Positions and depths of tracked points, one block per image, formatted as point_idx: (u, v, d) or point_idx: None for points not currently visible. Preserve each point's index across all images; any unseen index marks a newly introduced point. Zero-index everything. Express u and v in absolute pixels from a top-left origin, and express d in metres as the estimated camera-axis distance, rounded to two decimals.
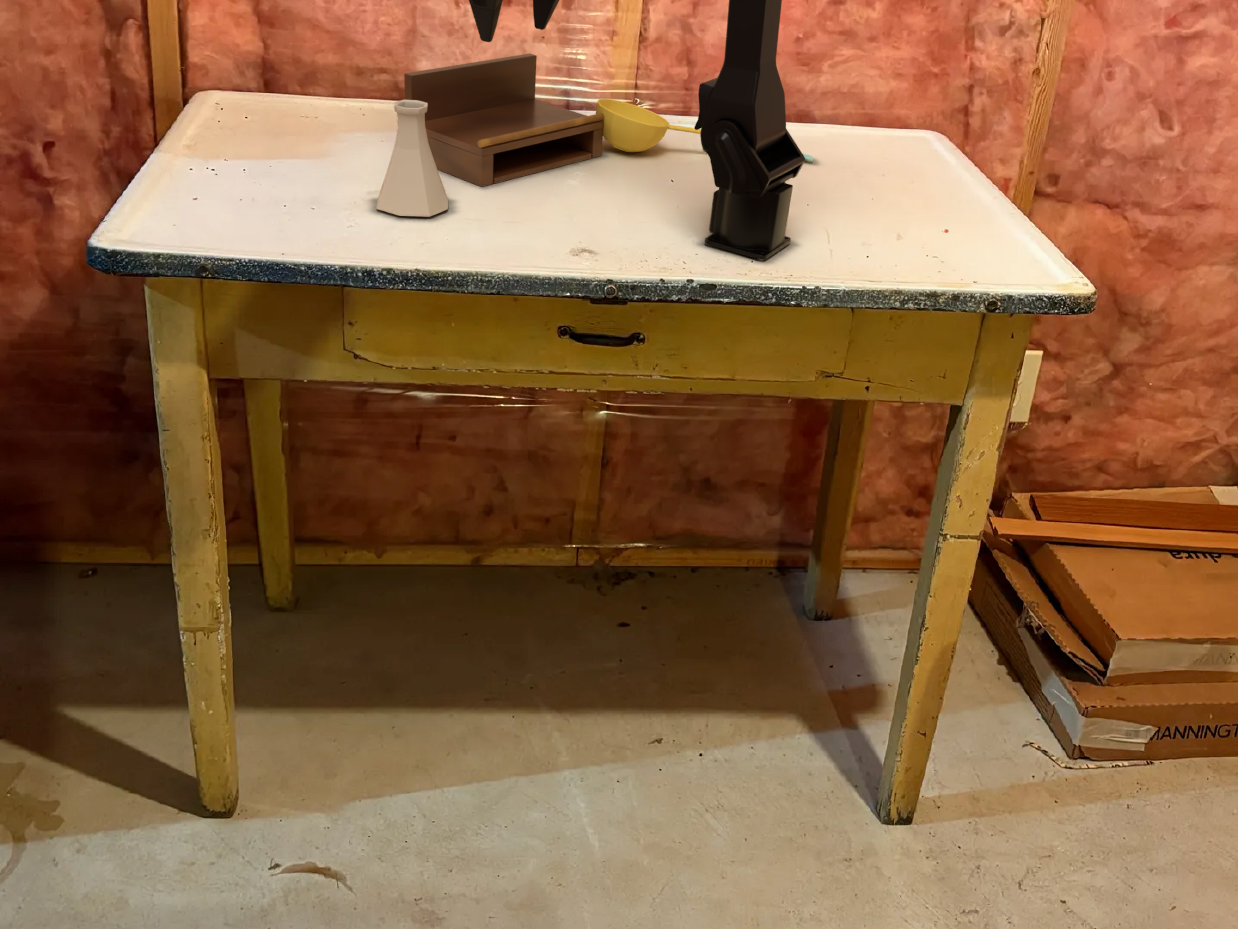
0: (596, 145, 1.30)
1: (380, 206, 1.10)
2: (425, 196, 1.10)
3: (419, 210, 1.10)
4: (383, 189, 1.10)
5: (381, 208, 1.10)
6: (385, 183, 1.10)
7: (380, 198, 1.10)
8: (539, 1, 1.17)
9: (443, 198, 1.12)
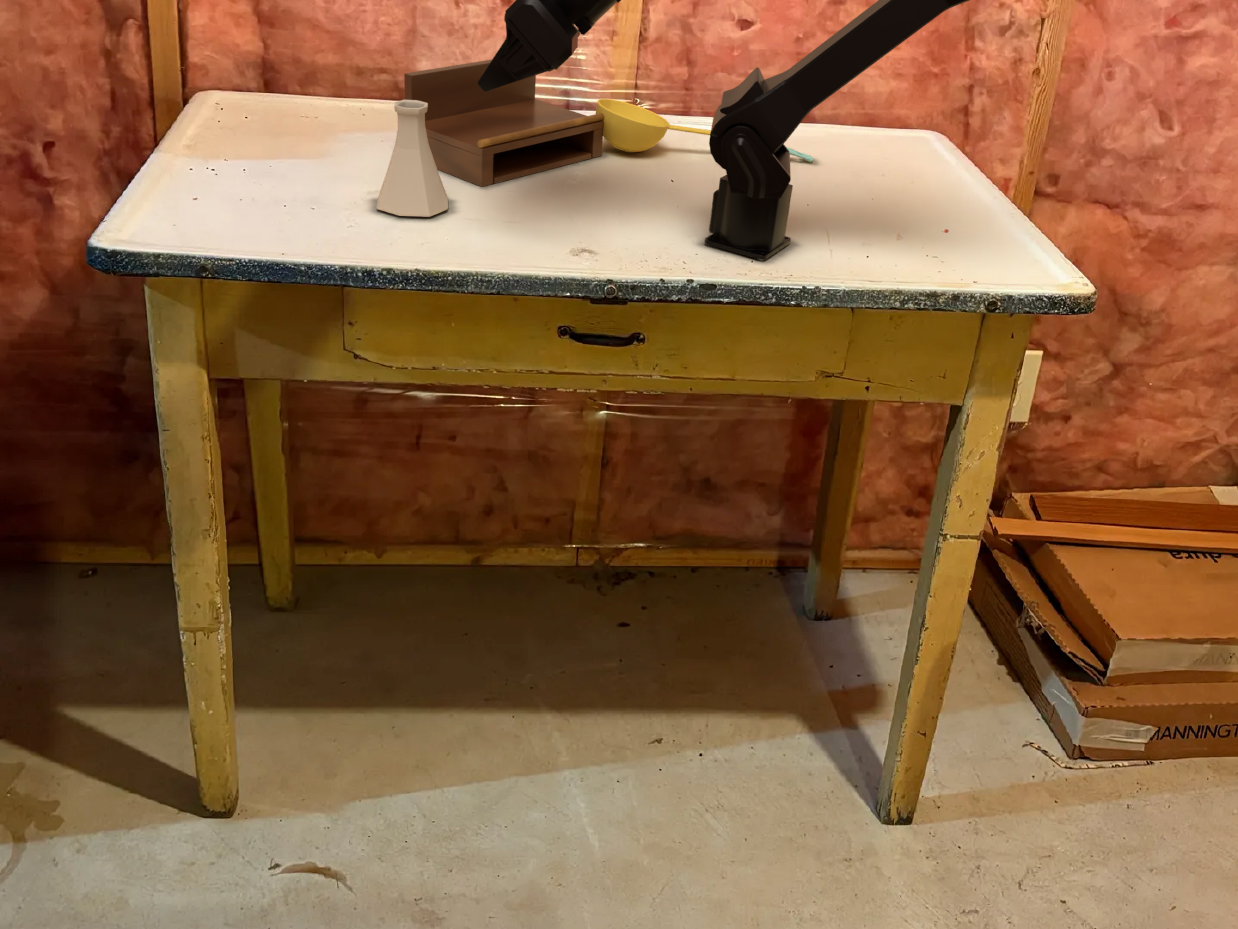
0: (596, 145, 1.30)
1: (380, 206, 1.10)
2: (425, 196, 1.10)
3: (419, 210, 1.10)
4: (383, 189, 1.10)
5: (381, 208, 1.10)
6: (385, 183, 1.10)
7: (380, 198, 1.10)
8: None
9: (443, 198, 1.12)
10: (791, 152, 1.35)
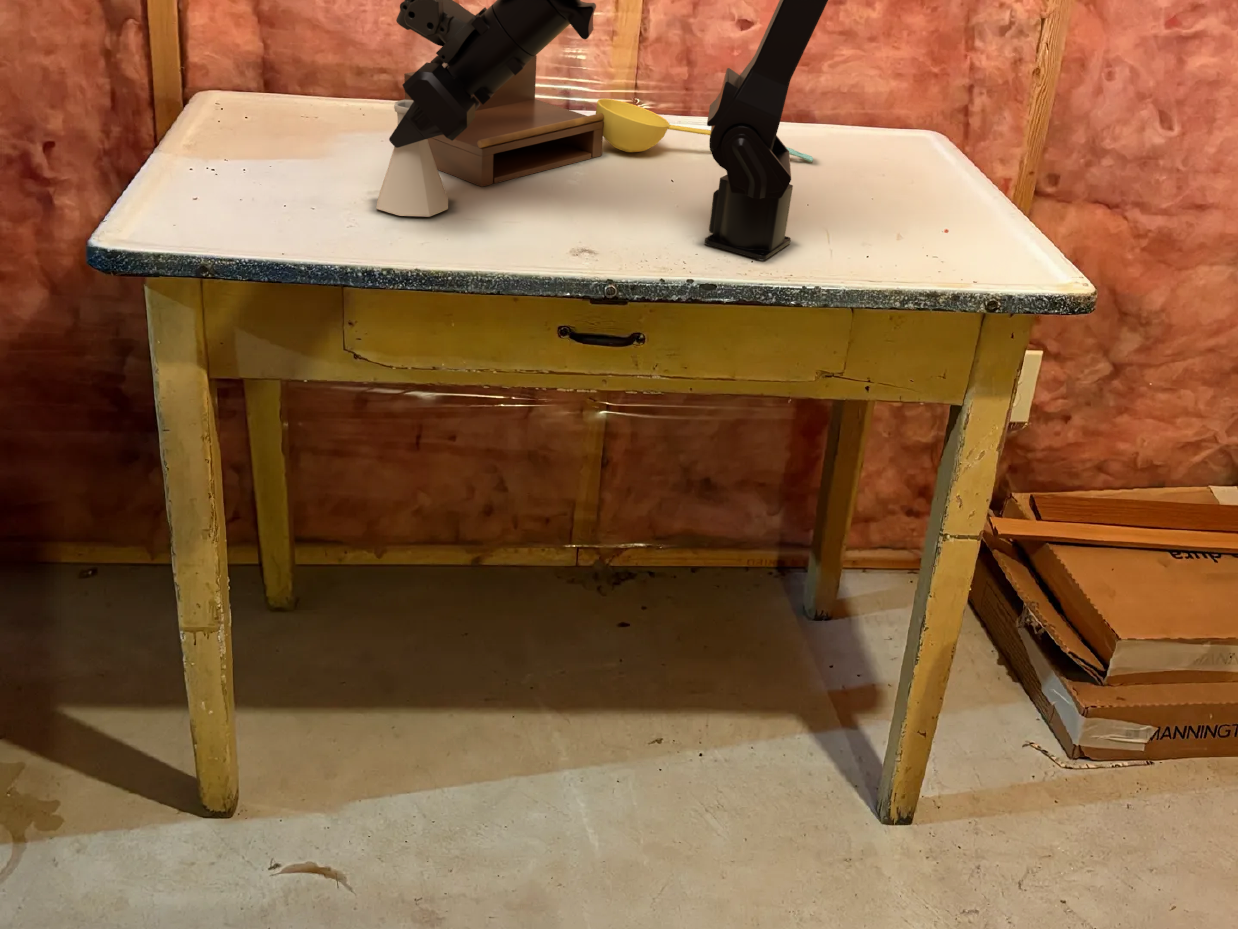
0: (596, 145, 1.30)
1: (380, 206, 1.10)
2: (425, 196, 1.10)
3: (419, 210, 1.10)
4: (383, 189, 1.10)
5: (381, 208, 1.10)
6: (385, 183, 1.10)
7: (380, 198, 1.10)
8: None
9: (443, 198, 1.12)
10: (791, 152, 1.35)
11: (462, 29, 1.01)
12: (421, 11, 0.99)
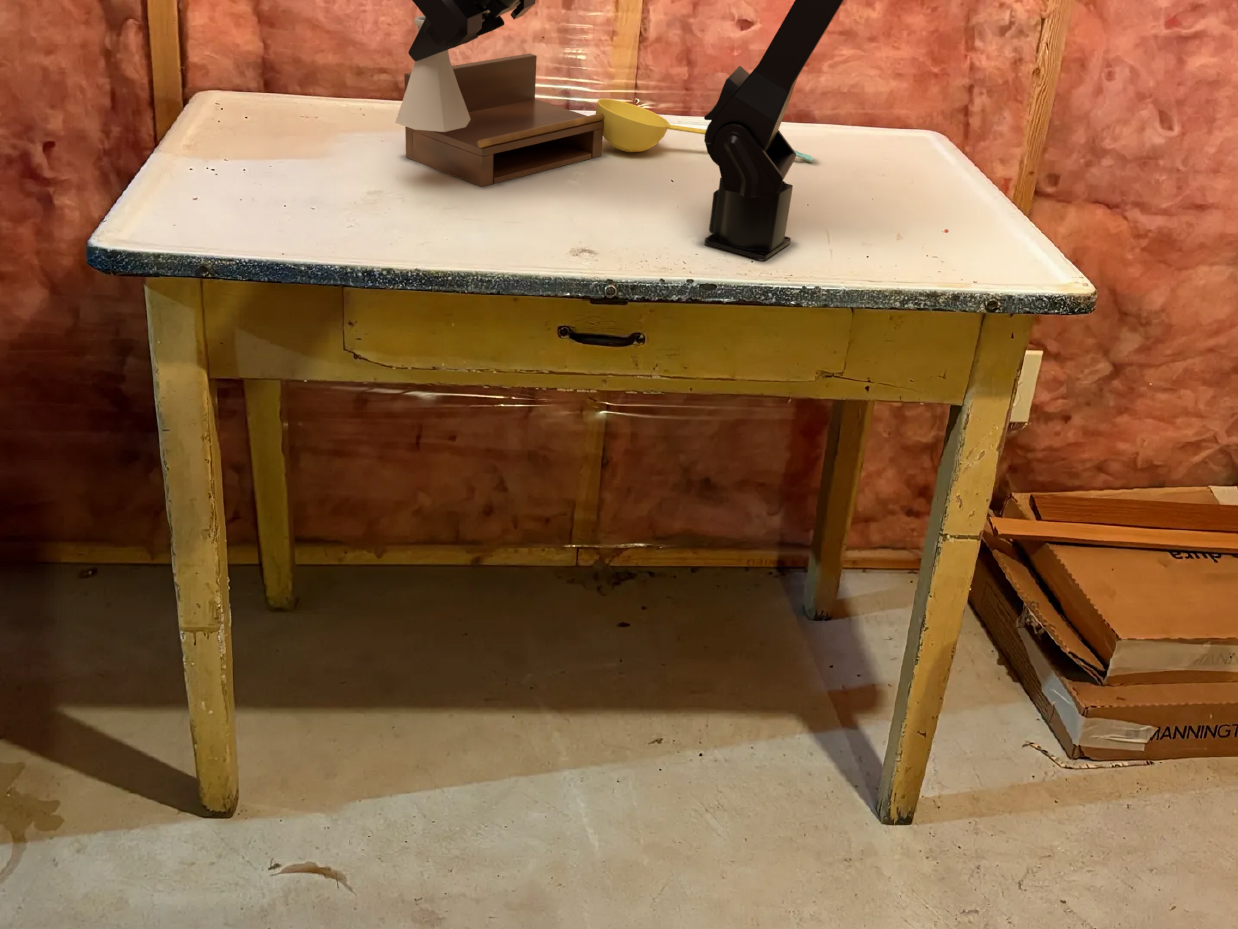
0: (596, 145, 1.30)
1: (399, 120, 1.12)
2: (440, 111, 1.11)
3: (434, 125, 1.11)
4: (402, 103, 1.12)
5: (399, 122, 1.12)
6: (404, 97, 1.11)
7: (399, 112, 1.12)
8: None
9: (461, 115, 1.12)
10: None
11: None
12: None
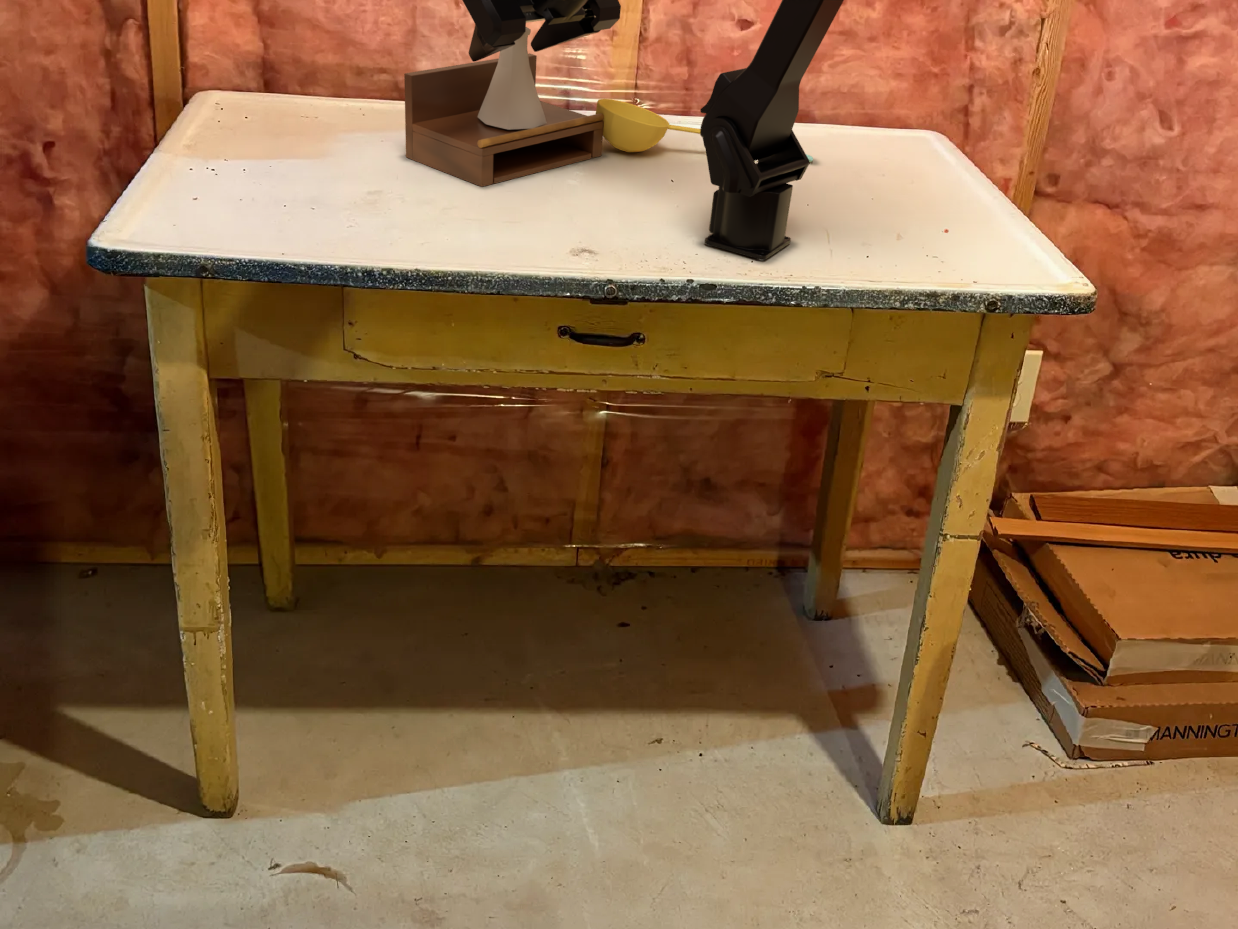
0: (596, 145, 1.30)
1: (479, 115, 1.26)
2: (508, 110, 1.23)
3: (501, 122, 1.23)
4: (484, 100, 1.25)
5: (479, 117, 1.26)
6: (486, 95, 1.25)
7: (481, 108, 1.25)
8: (545, 32, 1.24)
9: (530, 117, 1.24)
10: None
11: None
12: None
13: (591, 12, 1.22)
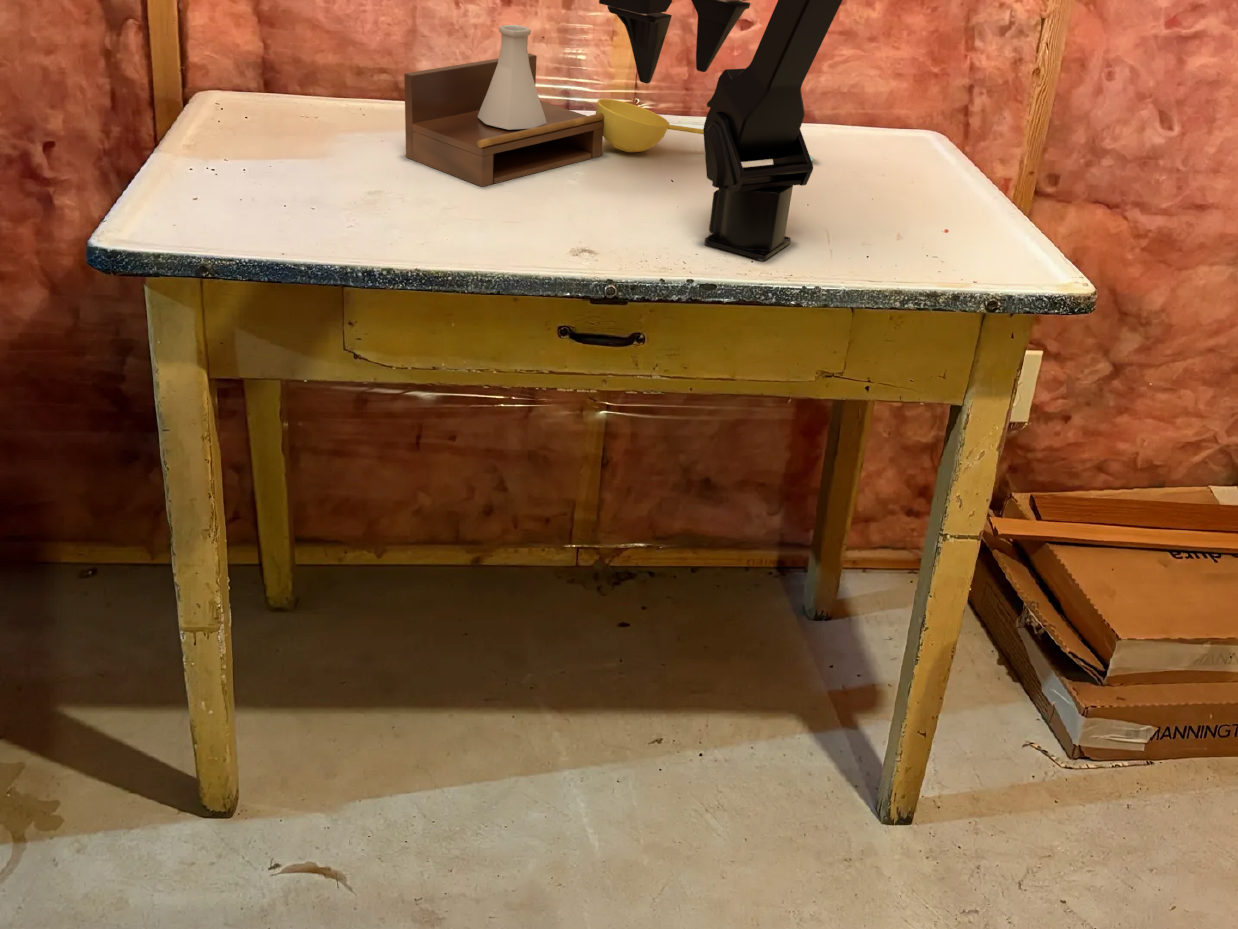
0: (596, 145, 1.30)
1: (479, 115, 1.26)
2: (508, 110, 1.23)
3: (501, 122, 1.23)
4: (484, 100, 1.25)
5: (479, 117, 1.26)
6: (486, 95, 1.25)
7: (481, 108, 1.25)
8: (702, 44, 1.18)
9: (530, 117, 1.24)
10: None
11: None
12: None
13: None
